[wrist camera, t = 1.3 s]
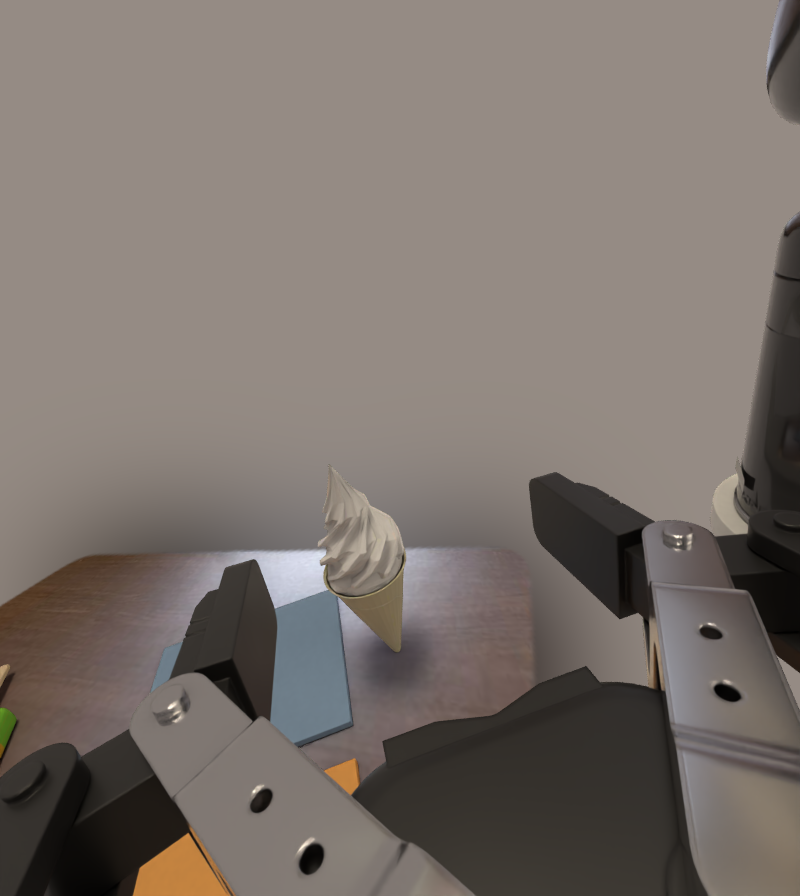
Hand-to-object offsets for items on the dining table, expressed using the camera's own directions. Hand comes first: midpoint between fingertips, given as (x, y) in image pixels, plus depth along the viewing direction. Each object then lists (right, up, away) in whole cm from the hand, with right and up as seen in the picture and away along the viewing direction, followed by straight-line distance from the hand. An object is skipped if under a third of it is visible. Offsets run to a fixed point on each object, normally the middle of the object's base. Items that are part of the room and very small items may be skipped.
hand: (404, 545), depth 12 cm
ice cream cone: (0, -11, +17) cm, 20 cm away
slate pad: (-11, -14, +17) cm, 24 cm away
